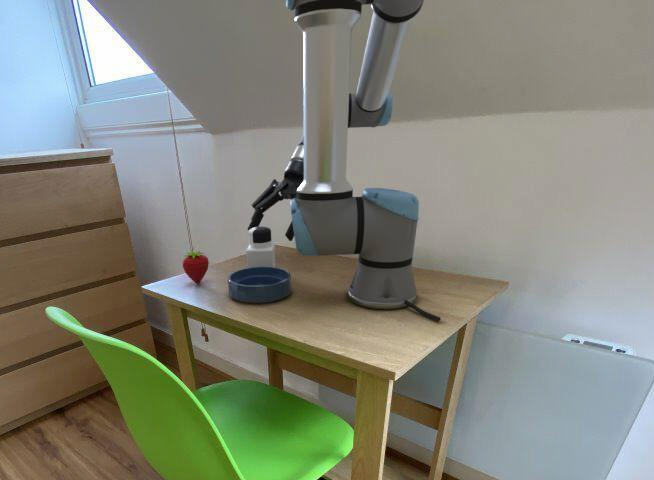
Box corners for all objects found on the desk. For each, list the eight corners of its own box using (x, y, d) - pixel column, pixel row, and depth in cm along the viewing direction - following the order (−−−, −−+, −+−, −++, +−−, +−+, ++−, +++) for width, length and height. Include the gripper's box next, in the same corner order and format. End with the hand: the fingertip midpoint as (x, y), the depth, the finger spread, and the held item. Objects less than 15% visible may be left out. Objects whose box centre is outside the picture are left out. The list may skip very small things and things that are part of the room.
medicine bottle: (275, 268, 124) (274, 224, 118) (273, 276, 118) (271, 230, 112) (251, 268, 125) (248, 225, 119) (247, 276, 119) (244, 231, 113)
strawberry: (216, 281, 116) (212, 243, 111) (196, 290, 111) (191, 250, 106) (200, 278, 119) (195, 241, 114) (180, 286, 114) (174, 247, 109)
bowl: (303, 293, 106) (303, 275, 104) (254, 310, 98) (253, 291, 96) (264, 279, 116) (263, 262, 114) (217, 294, 108) (215, 276, 106)
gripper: (344, 179, 117) (311, 248, 115) (273, 175, 131) (243, 237, 129) (334, 159, 110) (299, 232, 109) (261, 157, 125) (229, 222, 123)
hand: (268, 235), depth 119 cm, fingers open, 13 cm apart
